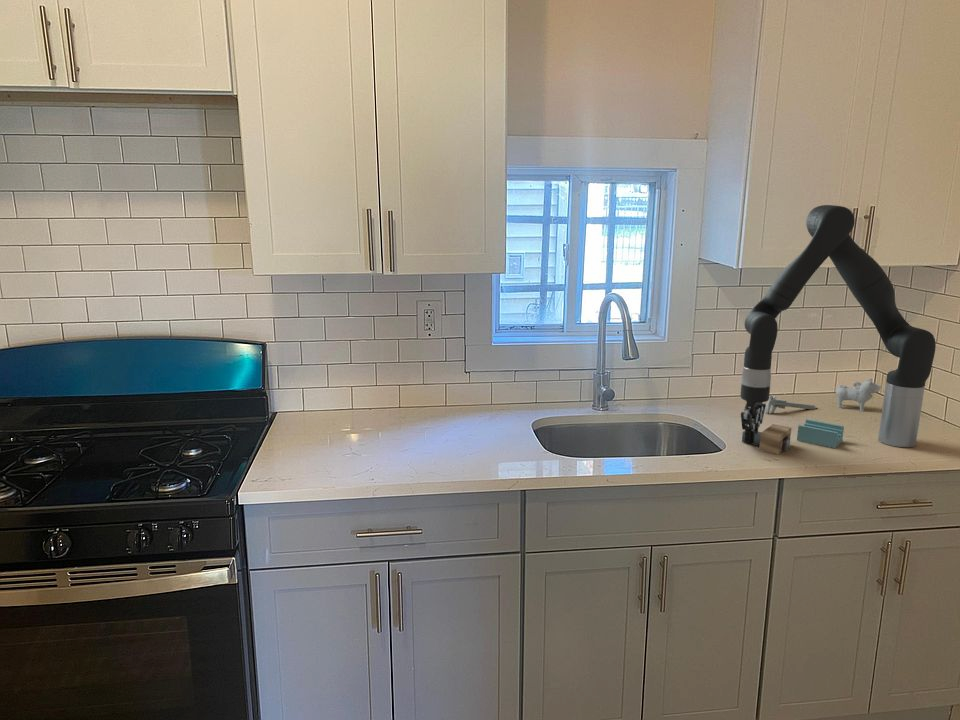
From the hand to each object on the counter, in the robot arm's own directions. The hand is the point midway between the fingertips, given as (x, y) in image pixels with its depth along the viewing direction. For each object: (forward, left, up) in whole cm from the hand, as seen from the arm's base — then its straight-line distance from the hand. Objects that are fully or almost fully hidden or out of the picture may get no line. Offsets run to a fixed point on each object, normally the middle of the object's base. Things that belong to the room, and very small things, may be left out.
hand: (750, 441), depth 190 cm
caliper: (-39, 0, -1) cm, 39 cm away
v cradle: (-14, +15, 0) cm, 20 cm away
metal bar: (0, +4, 0) cm, 4 cm away
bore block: (0, +7, 0) cm, 7 cm away
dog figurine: (-56, +15, -1) cm, 58 cm away
